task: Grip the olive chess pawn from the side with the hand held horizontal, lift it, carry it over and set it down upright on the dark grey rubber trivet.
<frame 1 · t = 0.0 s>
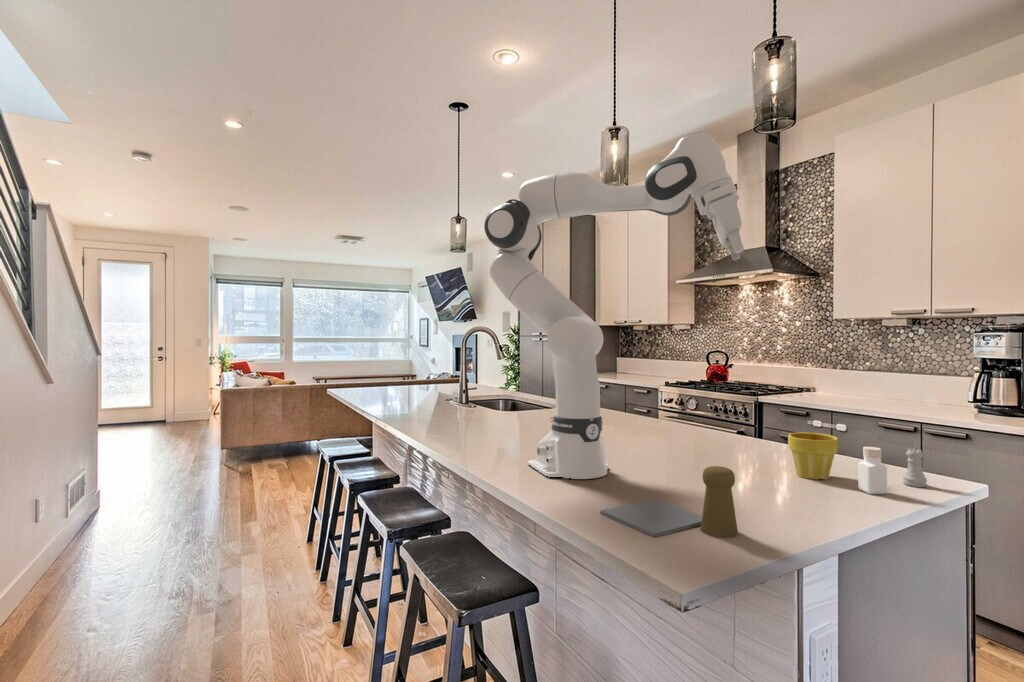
hand: (738, 255, 116), 52 cm above the countertop, tool tilted 20°, fingers open, 8 cm apart
rubber trivet: (654, 517, 96), on the countertop
plant pot: (812, 477, 124), on the countertop
olive chess pawn: (719, 532, 89), on the countertop
rook chess piece: (915, 486, 116), on the countertop
salt shaker: (872, 493, 111), on the countertop
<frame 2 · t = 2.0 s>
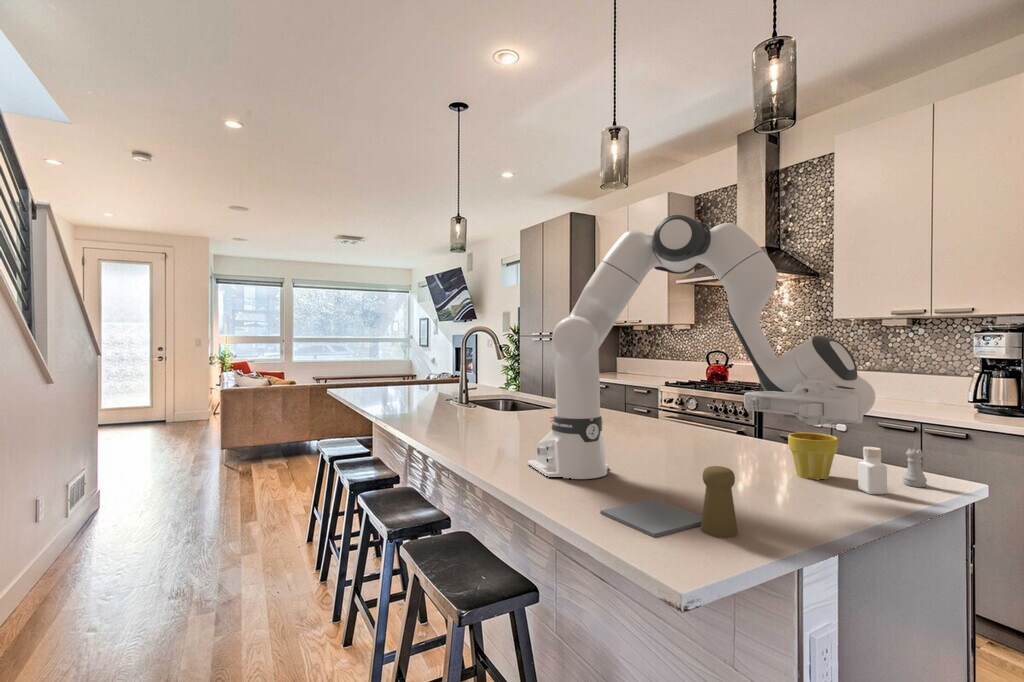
hand: (772, 407, 96), 20 cm above the countertop, tool horizontal, fingers open, 8 cm apart
nothing on the countertop moved.
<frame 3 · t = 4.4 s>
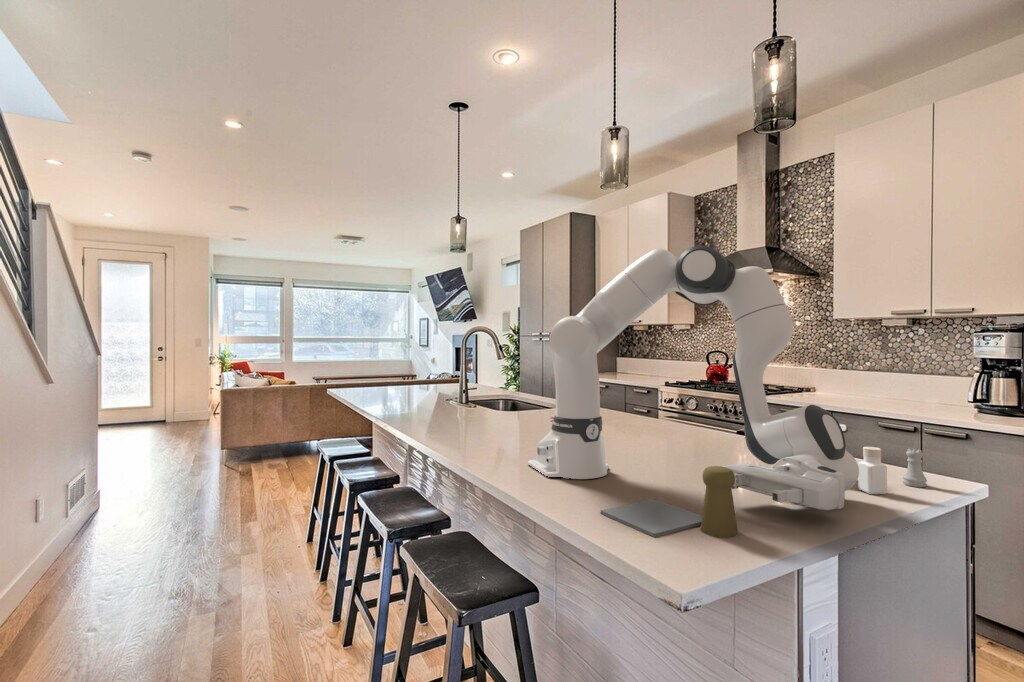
hand: (751, 490, 93), 6 cm above the countertop, tool horizontal, fingers open, 8 cm apart
nothing on the countertop moved.
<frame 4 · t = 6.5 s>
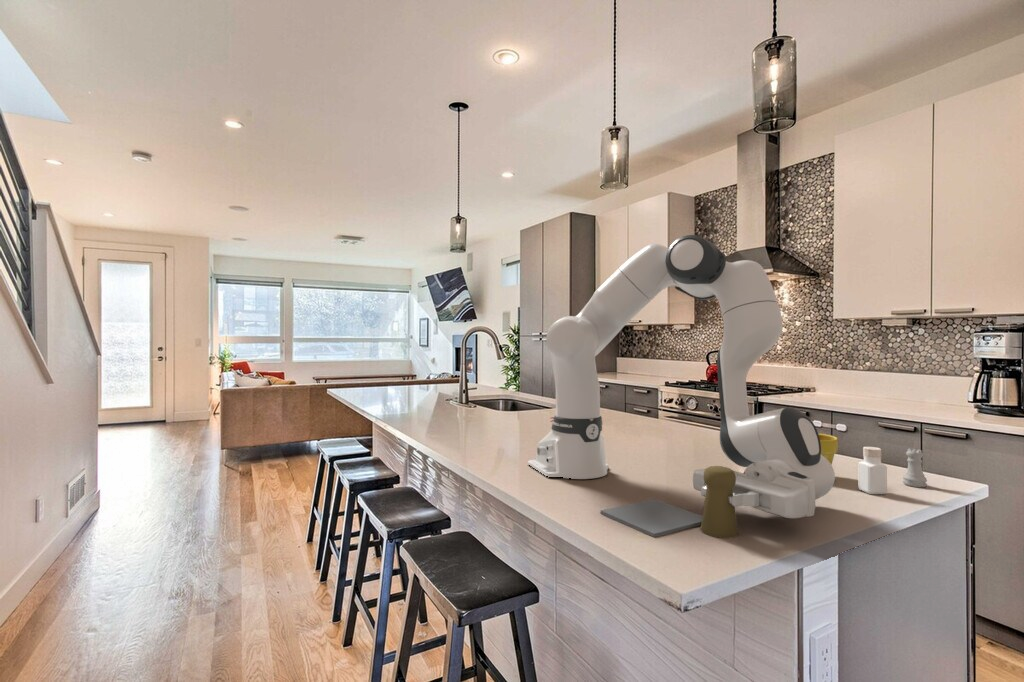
hand: (717, 496, 88), 6 cm above the countertop, tool horizontal, fingers open, 4 cm apart
olive chess pawn: (719, 532, 89), on the countertop, touching gripper
everything else where it was.
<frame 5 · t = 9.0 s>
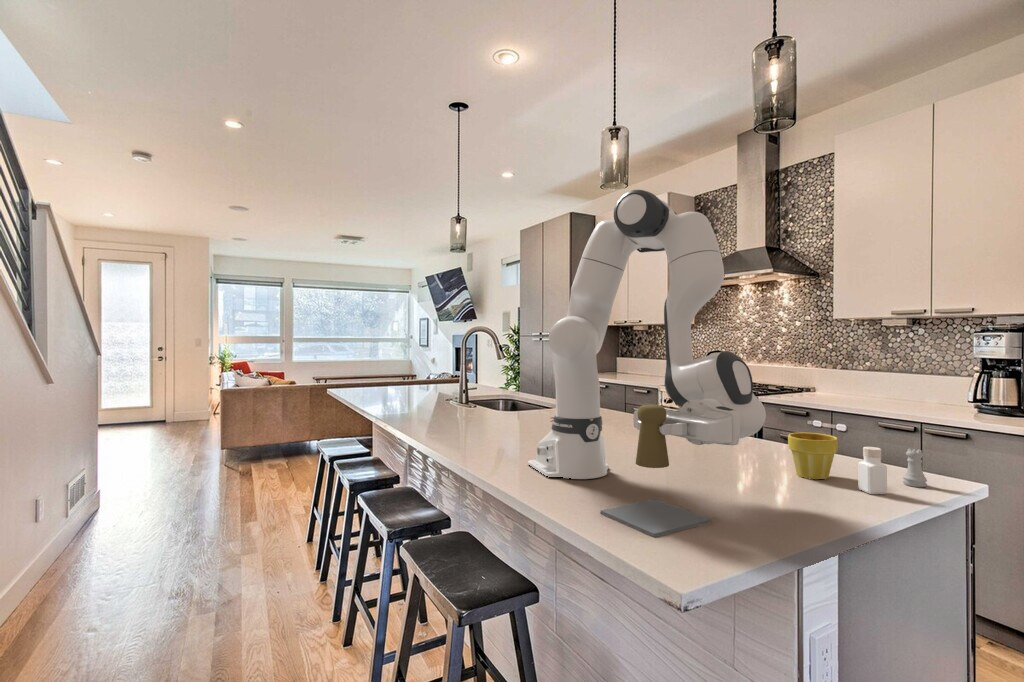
hand: (649, 427, 95), 17 cm above the countertop, tool horizontal, fingers closed on olive chess pawn, 4 cm apart
olive chess pawn: (652, 465, 96), point 10 cm above the countertop, touching gripper
everything else where it was.
when the fingers open (8 cm above the countertop, at t = 11.0 s): olive chess pawn moves 2 cm, resting on rubber trivet.
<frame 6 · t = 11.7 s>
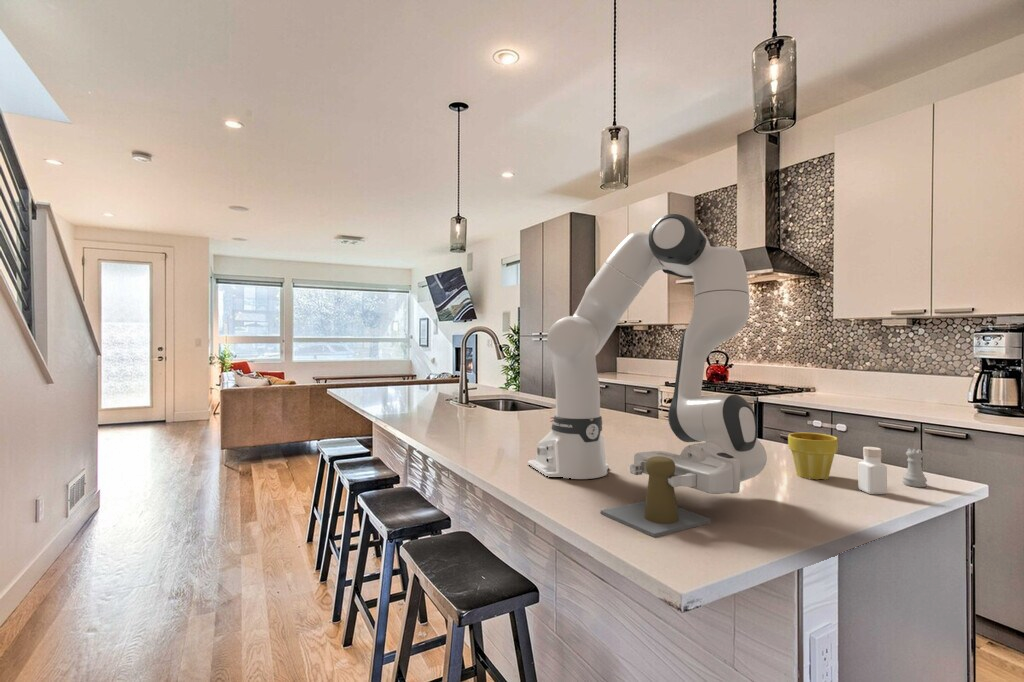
hand: (650, 475, 95), 8 cm above the countertop, tool horizontal, fingers open, 8 cm apart
olive chess pawn: (661, 518, 94), resting on rubber trivet, touching gripper
everything else where it was.
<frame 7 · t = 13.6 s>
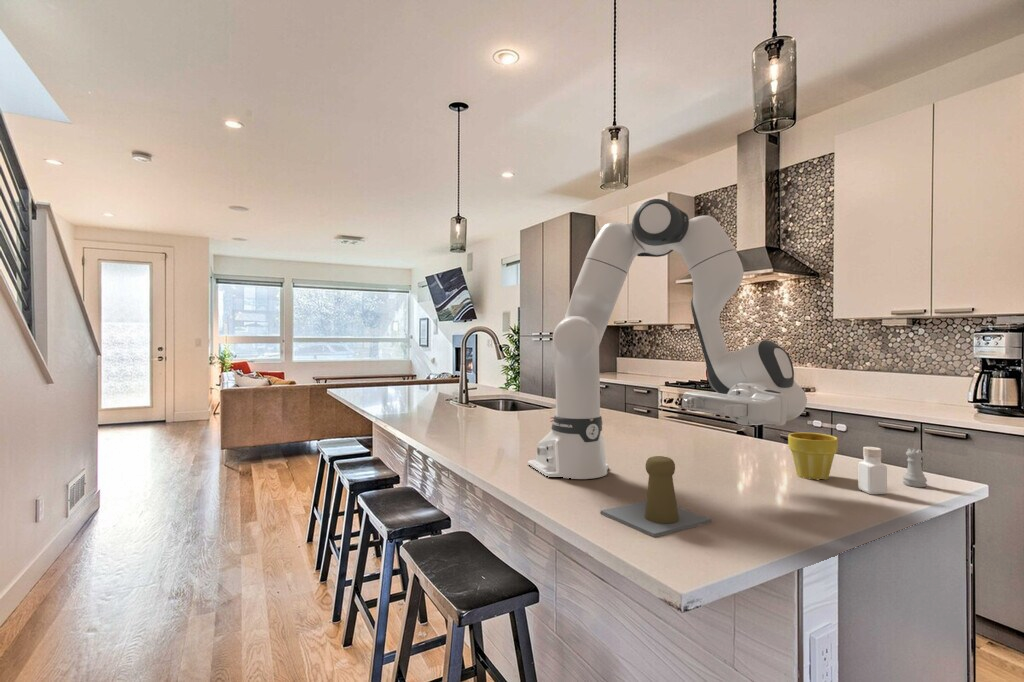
hand: (702, 406, 103), 20 cm above the countertop, tool horizontal, fingers open, 8 cm apart
olive chess pawn: (661, 518, 94), resting on rubber trivet
everything else where it was.
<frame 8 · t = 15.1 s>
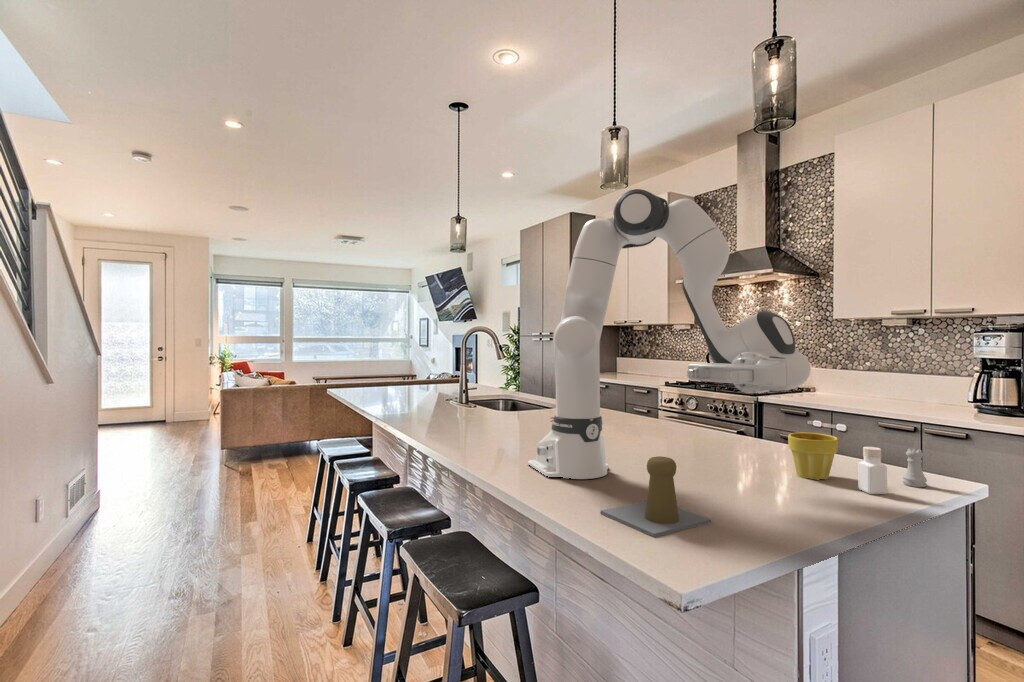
hand: (708, 374, 103), 26 cm above the countertop, tool horizontal, fingers open, 8 cm apart
nothing on the countertop moved.
at the end: olive chess pawn inside the target area on the rubber trivet (2.1 cm from its centre), point 0.4 cm above the rubber trivet's base; olive chess pawn tilted 0°; the gripper is holding nothing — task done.
